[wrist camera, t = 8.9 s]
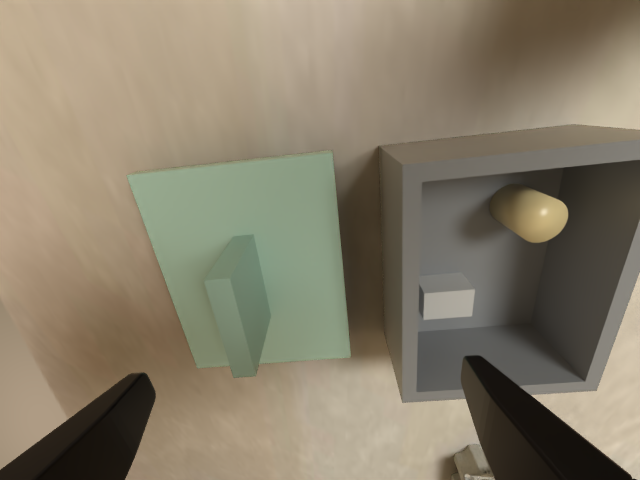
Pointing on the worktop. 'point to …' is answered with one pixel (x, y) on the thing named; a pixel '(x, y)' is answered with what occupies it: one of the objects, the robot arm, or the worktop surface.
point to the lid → (250, 258)
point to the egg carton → (471, 464)
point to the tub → (508, 255)
